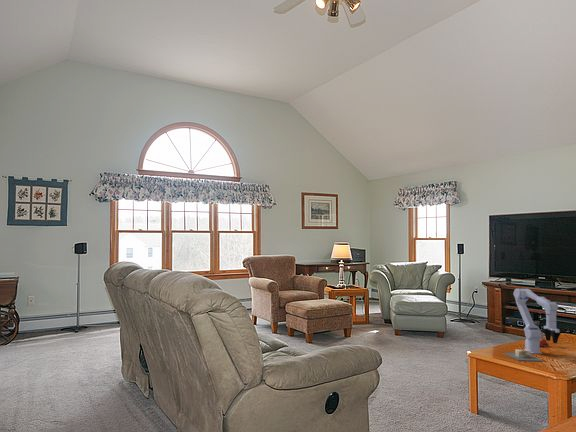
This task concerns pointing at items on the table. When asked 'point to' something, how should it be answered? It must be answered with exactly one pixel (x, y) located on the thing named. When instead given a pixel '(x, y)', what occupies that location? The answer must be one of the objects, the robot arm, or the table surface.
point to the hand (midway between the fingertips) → (551, 341)
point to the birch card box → (522, 353)
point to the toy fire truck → (543, 341)
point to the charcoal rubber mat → (523, 357)
